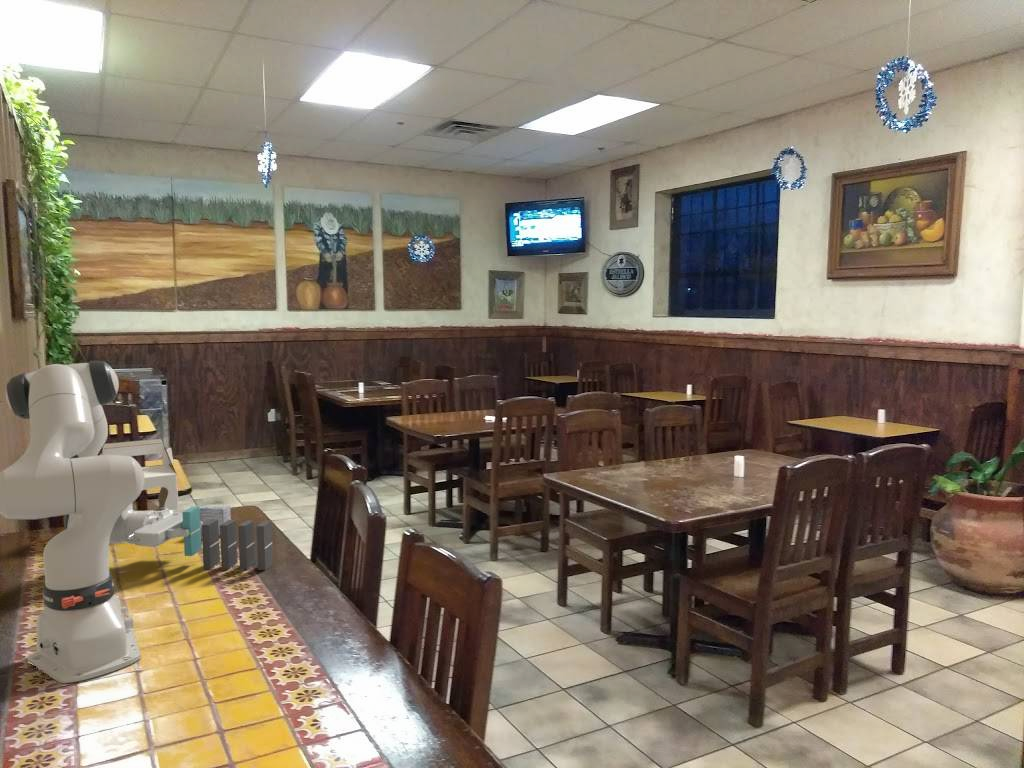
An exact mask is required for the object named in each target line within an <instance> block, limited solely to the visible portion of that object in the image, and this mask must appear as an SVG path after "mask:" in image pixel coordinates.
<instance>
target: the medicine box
mask: <svg viewBox="0 0 1024 768" xmlns="http://www.w3.org/2000/svg"><path fill="white" fill-rule="evenodd" d="M199 508H200V521H201V522H203V524H204V523H206V522H207V521H209V520H211V519H218V527H219V537H220V525H221V524H223V523H224V522H226V521H228V520H232V519H231V518H232V517H231V505H229V504H227V505H225V504H206V505H203V506H202V507H199ZM201 537H202V528H201Z"/></svg>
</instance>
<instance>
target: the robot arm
mask: <svg viewBox="0 0 1024 768" xmlns="http://www.w3.org/2000/svg"><path fill="white" fill-rule="evenodd" d="M118 391H119V378H118V375H117V373H116V371H115V370H114V369H113V368H112V366H111V365H110V364H109V363H107V362H106V361H103V360H89V362H81V363H80V362H79V363H70V364H61V363H60V364H59V363H54V364H53V363H52V364H48V365H45V366H42V367H40V368H38V369H37V370H34V371H32V372H28V373H26V372H22V373H19V374H17V375H14V376H13V377H11V378H10V379H9V380H8V382H7V383H6V389H5V400H6V403H7V405H8V407H9V408H10V410H11V411H12V412H13V414H14V415H15V416H17V417H19V418H21V419H24V420H29V424H30V425H29V426H30V440H29V444H28V446H27V448H26V449H25V451H24V453H23V454H22V455H21V456H20V457H19V459H17V460H16V461H15V462H14V463H13V464H11V465H9V466H8V467H6V468H4V469H3V470H1V472H0V515H1V516H2V517H4V518H6V519H7V520H40V519H46V518H52V517H60V516H64V517H63V525H64V528H65V529H64V530H62V531H61V532H58V534H56V535H55V536H52V538H50V540H49V541H48V542H47V543H46V545H45V547H44V548H43V552H42V553H43V554H42V555H43V566H44V567H43V570H44V581H45V582H44V583H45V584H44V585H43V587H42V588H43V589H42V590H43V591H42V598H43V604H44V605H45V606H44V608H43V610H42V612H41V613H40V614H39V615H38V616H37V617H36V619H35V621H36V622H35V623H36V624H35V625H36V630H35V631H36V632H35V633H36V651H35V652H33V653H31V654H30V655H29V656H28V657H27V663H28V662H30V663H32V664H33V665H34V666H36V667H38V668H39V669H40V670H42V671H43V672H44V673H43V672H42V671H41V672H42V673H43V674H45V673H46V674H45V675H47V674H48V675H49V676H48V675H47V676H48V677H50V678H51V679H54V680H55V681H57V682H58V683H61V684H68V683H75V682H81V681H85V680H90V679H93V678H96V677H100V676H102V675H106V674H109V673H113V672H115V671H118V670H120V669H123V668H126V667H127V666H129V665H132V664H133V663H136V662H138V661H139V660H140V659H141V658H142V654H141V650H140V648H139V647H140V646H139V644H138V640H137V638H136V635H135V631H134V629H133V628H134V620H133V617H132V616H129V617H125V618H124V617H123V615H124V614H126V613H127V609H126V606H125V605H124V606H120V596H118V595H116V594H115V584H114V580H113V576H112V574H111V572H110V559H109V558H110V557H109V556H110V555H109V554H110V544H116V545H117V544H123V543H127V544H131V545H135V546H140V547H151V548H153V547H160V546H161V545H163V544H164V543H167V542H168V541H170V540H172V539H177V538H184V537H187V536H189V535H190V529H183V515H182V512H183V511H185V510H186V509H185V510H184V509H183V510H182V509H178V510H169V509H168V508H159V507H158V508H156V509H152V510H146V509H145V510H134V509H133V508H134V502H135V501H136V500H137V499H138V498H139V497H140V495H141V493H142V492H143V490H142V489H143V486H144V473H143V470H142V468H141V467H142V466H141V464H140V463H139V462H138V461H137V460H136V458H134V457H133V456H122V455H98V454H100V451H101V450H102V449H103V446H104V444H106V441H107V439H108V434H109V429H108V427H109V426H108V421H107V417H106V414H105V411H104V408H103V406H104V405H107V404H109V403H111V402H113V401H114V400H115V399H116V398H117V396H118ZM97 455H98V456H97ZM202 524H203V522H201V521H200V527H201V528H202V526H201V525H202ZM40 670H39V671H40Z"/></svg>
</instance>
